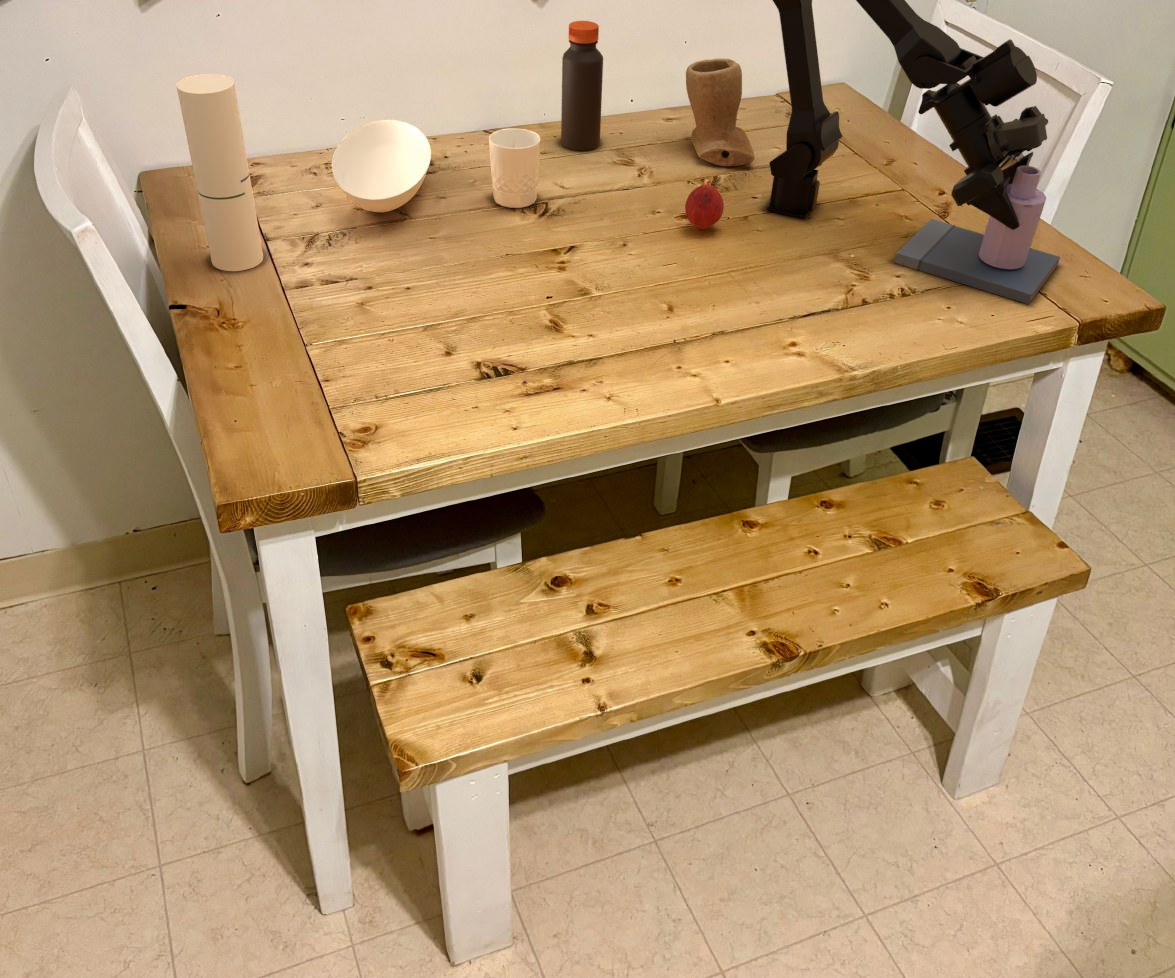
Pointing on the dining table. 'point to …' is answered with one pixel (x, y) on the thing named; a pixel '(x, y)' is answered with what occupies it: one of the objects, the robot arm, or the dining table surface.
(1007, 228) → the vase
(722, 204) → the onion
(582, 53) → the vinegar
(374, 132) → the bowl
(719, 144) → the clay boot vessel
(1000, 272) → the grey stepped slab
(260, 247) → the cylindrical container
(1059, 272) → the dining table surface
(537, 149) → the white cup
